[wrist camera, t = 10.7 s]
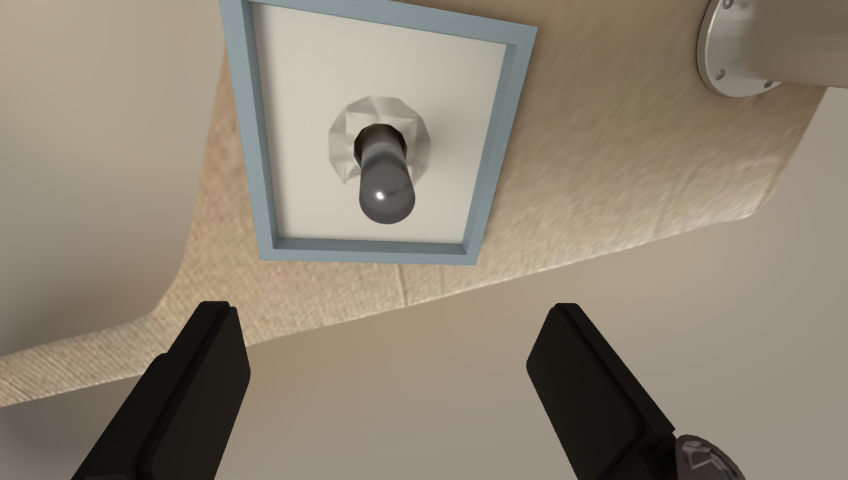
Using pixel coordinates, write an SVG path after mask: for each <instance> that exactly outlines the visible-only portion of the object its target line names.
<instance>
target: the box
mask: <svg viewBox="0 0 848 480" xmlns="http://www.w3.org/2000/svg"><path fill="white" fill-rule="evenodd" d="M219 3H220V9H221V16H222V22H223V29H224V35H225V41H226V48H227V54H228V61H229V67H230V73H231V80H232V86H233V92H234V99H235V105H236V111H237V118H238V124H239V130H240V137H241V143H242V150H243V156H244V162H245V169H246V175H247V181H248V188H249V194H250V200H251V207H252V213H253V219H254V226H255V232H256V238H257V245H258V251H259V258H260V260H279V261H320V262H361V263H402V264H443V265H476V262H477V259H478V255H479V251H480V247H481V243H482V239H483V236H484V232H485V228H486V224H487V220H488V217H489V213H490V209H491V205H492V201H493V197H494V194H495V190H496V186H497V182H498V178H499V175H500V171H501V167H502V163H503V159H504V155H505V152H506V148H507V144H508V140H509V136H510V133H511V129H512V125H513V121H514V117H515V114H516V110H517V106H518V102H519V98H520V94H521V91H522V87H523V83H524V79H525V75H526V72H527V68H528V64H529V60H530V56H531V52H532V49H533V45H534V41H535V37H536V33H537V30H538V27H534V26H529V25H523V24H518V23H512V22H507V21H501V20H496V19H490V18H485V17H479V16H474V15H468V14H462V13H457V12H451V11H446V10H440V9H435V8H429V7H424V6H418V5H413V4H407V3H402V2H396V1H390V0H219ZM374 123H381V124H390V125H391V126H392V127H394V128H395V129H397V130H398V131H399V132H401V133H402V135H403V137H404V140H405V148H404V154H403V155H404V158H405V161H406V165H407V168H408V172H409V175H410V178H411V182H412V185H413V188H414V192H415V205H414V208H413V210H412V212H411V213H410V214H409V215H408V216H407V217H406V218H405V219H404V220H402V221H400V222H398V223H394V224H380V223H377V222H374V221H372V220H371V219H369V218H368V217H367V216H366V215H365V214H364V213H363V211H362V209H361V207H360V203H359V191H360V177H361V163H362V161H361V160H360V158H359V156H358V154H357V153H356V151H355V139H356V137H357V136H358V134H359V133H360V131H361V129H363V128H365V127H367V126H369V125H372V124H374Z"/></svg>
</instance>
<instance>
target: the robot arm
mask: <svg viewBox="0 0 848 480" xmlns="http://www.w3.org/2000/svg"><path fill="white" fill-rule="evenodd" d="M697 64H698V70H699V73H700V75H701V78H702V80H703V81H704V83H705V84H706V86H707V87H708V88H709V89H711V90H712V91H714V92H715V93H717V94H721V95H724V96H730V97H738V98H740V97H750V96H754V95H757V94H760V93H763V92H766V91H768V90H770V89H772V88H774V87H776V86H778V85H779V84H781V83H782V82H785V83H795V84H806V85H816V86H826V87H837V88H847V89H848V0H711V2H710V4H709V6H708V8H707V11H706V14H705V17H704V19H703V22H702V25H701V29H700V33H699V38H698V44H697ZM526 368H527V372H528V374H529V376H530V378H531V381H532V383H533V385H534V387H535V389H536V391H537V394H538V396H539V398H540V400H541V402H542V404H543V406H544V408H545V411H546V413H547V415H548V417H549V419H550V421H551V423H552V425H553V427H554V430H555V432H556V434H557V436H558V438H559V440H560V443H561V445H562V447H563V449H564V451H565V453H566V455H567V457H568V460H569V462H570V464H571V466H572V468H573V470H574V472H575V474H576V477H577V479H578V480H746V479H745V477H744V475H743V474H742V472H741V471H740V469H739V468H738V466H737V465H736V464H735V463H734V462H733V461H732V460H731V459H730V458H729V457H728V456H727V455H726V454H725V453H724V452H723V451H721V450H720V449H719V448H718V447H716V446H715V445H713V444H712V443H710V442H708V441H707V440H705V439H702V438H700V437H697V436H694V435H688V434H686V435H682V436H679V437H678V438H677V439H676V437H675V436H674V435H673V433H672V432H673V431H674V430H675V428H674V427H673V425H672V424H671V423H670V421H669V420H668V419H667V418H666V416H665V415H664V414H663V413H662V411H661V410H660V409H659V407H658V406H657V405H656V403H655V402H654V401H653V400H652V398H651V397H650V396H649V394H648V393H647V392H646V391H645V389H644V388H643V387H642V386H641V384H640V383H639V382H638V380H637V379H636V378H635V377H634V375H633V374H632V373H631V372H630V370H629V369H628V368H627V367H626V365H625V364H624V363H623V361H622V360H621V359H620V357H619V356H618V355H617V354H616V352H615V351H614V350H613V349H612V347H611V346H610V345H609V344H608V342H607V341H606V340H605V338H604V337H603V336H602V334H601V333H600V332H599V331H598V330H597V328H596V327H595V325H594V324H593V323H592V322H591V320H590V319H589V318H588V317H587V315H586V314H585V313H584V311H583V310H582V309H581V308H580V306H579V305H577V304H575V303H557V304H556V305H555V306H554V308H551V309H550V311H549V313H548V315H547V317H546V320H545V322H544V324H543V326H542V328H541V331H540V333H539V335H538V337H537V340H536V342H535V344H534V347H533V349H532V351H531V353H530V355H529V357H528V360H527V363H526ZM250 372H251V371H250V366H249V361H248V357H247V353H246V348H245V344H244V339H243V335H242V330H241V326H240V322H239V317H238V313H237V309H236V307H230V304H229V303H228V302H227V301H203V302H201V303H200V304H199V305H198V307H197V308H196V310H195V311H194V313H193V314H192V316H191V317H190V319H189V320H188V322H187V323H186V325H185V326H184V328H183V329H182V331H181V332H180V334H179V335H178V337H177V338H176V340H175V341H174V343H173V344H172V346H171V347H170V349H169V350H168V352H167V353H162V354H160V355H159V356H157V357H156V358H155V359H154V360H153V361H152V363H151V364H150V365H149V367H148V368H147V370H146V371H145V373H144V374H143V376H142V377H141V379H140V380H139V381H138V383H137V384H136V386H135V387H134V389H133V390H132V391H131V393H130V395H129V396H128V397H127V399H126V400H125V402H124V403H123V405H122V406H121V408H120V409H119V410H118V412H117V413H116V415H115V416H114V418H113V419H112V421H111V422H110V423H109V425H108V426H107V428H106V429H105V431H104V432H103V434H102V435H101V436H100V438H99V439H98V441H97V442H96V444H95V445H94V447H93V448H92V449H91V451H90V452H89V454H88V455H87V457H86V458H85V460H84V461H83V463H82V464H81V465H80V467H79V468H78V470H77V471H76V473H75V474H74V476H73V477H72V479H71V480H214V478H215V475H216V473H217V470H218V467H219V464H220V461H221V459H222V456H223V453H224V450H225V448H226V445H227V442H228V439H229V436H230V434H231V431H232V428H233V426H234V423H235V420H236V417H237V415H238V412H239V409H240V406H241V404H242V401H243V398H244V395H245V392H246V390H247V387H248V384H249V380H250Z"/></svg>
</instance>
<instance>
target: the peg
mask: <svg viewBox="0 0 848 480" xmlns="http://www.w3.org/2000/svg"><path fill="white" fill-rule="evenodd" d="M359 203H360V207H361V209H362V211H363V213H364V214H365V215H366V216H367V217H368V218H369V219H371V220H372V221H374V222H377V223H380V224H394V223H398V222H400V221H402V220H404V219H405V218H406V217H407V216H408V215H409V214H410V213H411V212H412V210H413V208H414V205H415V192H414V188H413V185H412V182H411V178H410V175H409V172H408V168H407V165H406V161H405V158H404V155H403V151H402V148H401V145H400V141H399V138H398V136H397V134H396V132H395V131H394V130H393V129H392V128H390V127H388V126H385V125H376V126H373V127H371V128H370V129H369V130H368V131H367V132H366V134H365V135H364V139H363V149H362V163H361V177H360V191H359Z"/></svg>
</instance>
